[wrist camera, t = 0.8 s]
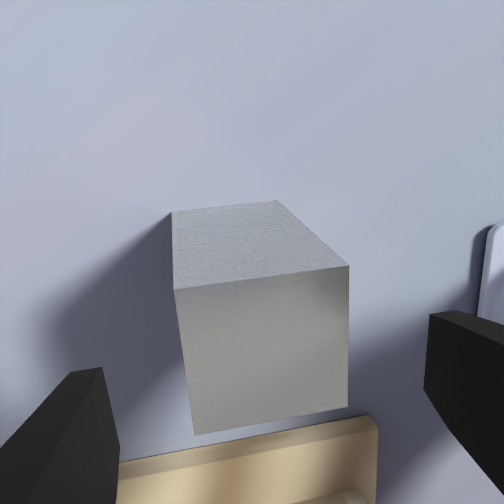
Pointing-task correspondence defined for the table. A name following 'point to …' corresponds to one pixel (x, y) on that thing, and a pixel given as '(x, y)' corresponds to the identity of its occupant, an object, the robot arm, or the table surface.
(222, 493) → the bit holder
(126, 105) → the table surface
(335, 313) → the brushed aluminum block
